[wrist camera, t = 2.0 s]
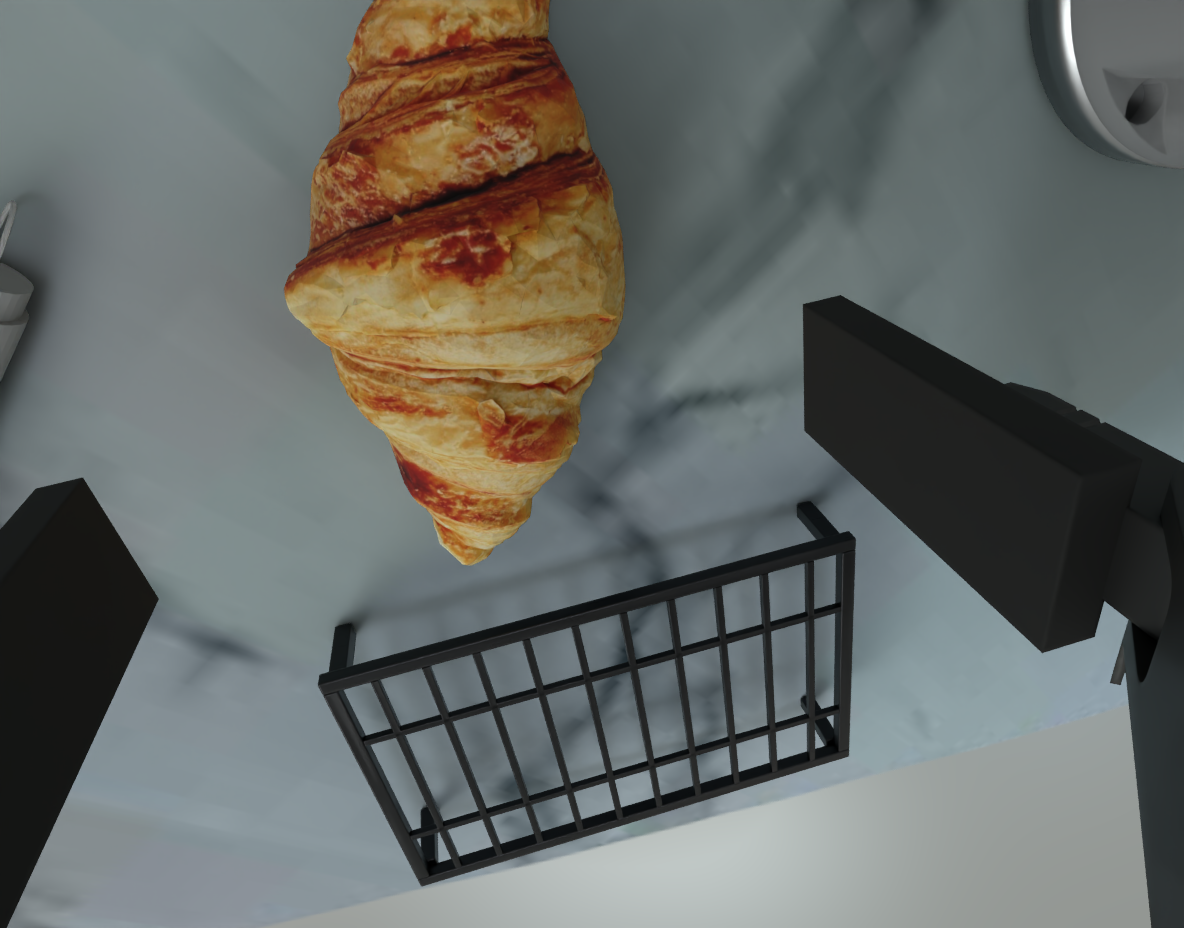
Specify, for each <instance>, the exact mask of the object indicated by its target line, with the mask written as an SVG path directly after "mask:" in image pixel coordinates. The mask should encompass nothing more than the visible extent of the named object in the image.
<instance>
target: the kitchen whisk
mask: <svg viewBox="0 0 1184 928" xmlns="http://www.w3.org/2000/svg"><path fill="white" fill-rule="evenodd" d="M16 206H17V204H16V202H15V201H13V200H11V201H9V202H8V203H7V205H6V206H5V208H4V210H3V211H2V213H1V215H0V229H1V227H2V225H3V222H4V221H5V219H6V217H7V215H8V213H9V215H8V219H7V222H6V225H5V229H4V232H3V234H2V237H1V240H0V259H1V256H2V254H3V251H4V248H5V245H6V243H7V240H8V237H9V234H10V231H11V228H12V225H13V221H14V218H15V214H16ZM33 289H34V287H33V285H32V283H31V282H30V281H29V280H28V279H27V278H26V277H25V276H24V275H22V274H21V273H19V272H18V271H16V270H14V269H13V268H11V267H9V266H7V265H5V264H3V263H1V262H0V382H1V380H2V377H3V375H4V373H5V371H6V369H7V366H8V364H9V362H10V360H11V358H12V355H13V353H14V351H15V349H16V347H17V344H18V342H19V340H20V338H21V336H22V333H23V331H24V329H25V327H26V325H27V322H28V320H29V315H28V312H27V311H26V309H25V308H26V305H27V303H28V301H29V299H30V296H31V294H32V292H33Z"/></svg>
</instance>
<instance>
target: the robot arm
mask: <svg viewBox="0 0 1184 928" xmlns="http://www.w3.org/2000/svg"><path fill="white" fill-rule="evenodd" d="M1029 21H1030V35H1031V41H1032V47H1033V53H1034V58H1035V62H1036V66H1037V70H1038V73H1039V77H1040V80H1041V82H1042V85H1043V87H1044V90H1045V93H1046V95H1047V97H1048V99H1049V101H1050V103H1051V105H1052V106H1053V108H1054V110H1055V112H1056V113H1057V115H1058V116H1059V117H1060V119H1061V120H1062V122H1063V123H1064V124H1065V126H1066V127H1067V128H1068V129H1069V130H1070V131H1071V132H1072V133H1073V134H1074V135H1075V136H1076V137H1077V138H1078V139H1080V140H1081V141H1082V142H1083V143H1085V144H1086V145H1087V146H1089V147H1090V148H1092V149H1094V150H1096V151H1098V152H1099V153H1101V154H1103V155H1106V156H1109V157H1111V158H1114V159H1117V160H1122V161H1126V162H1131V163H1138V164H1145V165H1152V166H1159V167H1166V168H1176V169H1184V0H1029ZM803 342H804V430H805V432H806V433H808V434H809V435H810V436H811V437H812V438H813V439H814V440H815V441H816V442H817V443H818V444H819V445H820V446H821V447H823V448H824V449H825V450H826V451H827V452H828V453H829V454H830V455H831V456H832V457H833V458H834V459H835V460H836V461H837V462H839V463H840V464H841V465H842V466H843V467H844V468H845V469H846V470H847V471H848V472H849V473H850V474H851V475H852V476H854V477H855V478H856V479H857V480H858V481H859V482H860V483H861V484H862V485H863V486H864V487H865V488H866V489H867V490H869V491H870V492H871V493H872V494H873V495H874V496H875V497H876V498H877V499H878V500H879V501H880V502H881V503H882V504H883V505H885V506H886V507H887V508H888V509H889V510H890V511H891V512H892V513H893V514H894V515H895V516H896V517H897V518H898V519H900V520H901V521H902V522H903V523H904V524H905V525H906V526H907V527H908V528H909V529H910V530H911V531H912V532H913V533H915V534H916V535H917V536H918V537H919V538H920V539H921V540H922V541H923V542H924V543H925V544H926V545H927V546H928V547H929V548H931V549H932V550H933V551H934V552H935V553H936V554H937V555H938V556H939V557H940V558H941V559H942V560H943V561H944V562H946V563H947V564H948V565H949V566H950V567H951V568H952V569H953V570H954V571H955V572H956V573H957V574H958V575H959V576H961V577H962V578H963V579H964V580H965V581H966V582H967V583H968V584H969V585H970V586H971V587H972V588H973V589H974V590H976V591H977V592H978V593H979V594H980V595H981V596H982V597H983V598H984V599H985V600H986V601H987V602H988V603H989V604H990V605H992V606H993V607H994V608H995V609H996V610H997V611H998V612H999V613H1000V614H1001V615H1002V616H1003V617H1004V618H1005V619H1007V620H1008V621H1009V622H1010V623H1011V624H1012V625H1013V626H1014V627H1015V628H1016V629H1017V630H1018V631H1019V632H1020V633H1022V634H1023V635H1024V636H1025V637H1026V638H1027V639H1028V640H1029V641H1030V642H1031V643H1032V644H1033V645H1034V646H1035V647H1036V648H1038V649H1039V650H1040V651H1041V652H1042V653H1044V652H1047V651H1050V650H1053V649H1057V648H1060V647H1063V646H1066V645H1070V644H1073V643H1076V642H1079V641H1083V640H1086V639H1089V638H1092V637H1095V633H1096V629H1097V626H1098V622H1099V618H1100V614H1101V611H1102V607H1103V603H1104V601H1105V602H1107V603H1108V604H1109V605H1110V606H1112V607H1113V608H1114V609H1116V610H1117V611H1118V612H1119V613H1121V614H1122V615H1123V616H1125V617H1126V618H1127V619H1129V620H1128V623H1127V627H1126V630H1125V633H1124V637H1123V640H1122V643H1121V647H1120V650H1119V653H1118V657H1117V660H1116V663H1115V667H1114V670H1113V674H1112V678H1111V681H1110V683H1113V684H1118V685H1121V682H1122V679H1123V676H1124V673H1126V680H1127V690H1128V700H1129V709H1130V720H1131V730H1132V740H1133V749H1134V760H1135V769H1136V779H1137V789H1138V799H1139V809H1140V819H1141V829H1142V838H1143V848H1144V857H1145V868H1146V878H1147V887H1148V898H1149V908H1150V917H1151V928H1184V463H1183V462H1181V461H1179V460H1177V459H1175V458H1173V457H1171V456H1169V455H1167V454H1166V453H1164V452H1162V451H1160V450H1158V449H1156V448H1154V447H1152V446H1150V445H1148V444H1146V443H1144V442H1142V441H1141V440H1139V439H1137V438H1135V437H1133V436H1131V435H1129V434H1127V433H1125V432H1123V431H1121V430H1119V429H1117V428H1115V427H1114V426H1112V425H1110V424H1108V423H1106V422H1105V423H1100V421H1099V419H1098V418H1096V417H1094V416H1092V415H1090V414H1089V413H1087V412H1085V411H1083V410H1079V411H1077V410H1076V407H1075V406H1073V405H1071V404H1069V403H1067V402H1065V401H1064V400H1062V399H1060V398H1058V397H1056V396H1054V395H1052V394H1050V393H1048V392H1045V391H1041V390H1038V389H1034V388H1030V387H1026V386H1023V385H1019V384H1015V383H1011V382H1010V383H1007V384H1003V383H1001V382H999V381H997V380H996V379H994V378H992V377H990V376H988V375H986V374H985V373H983V372H981V371H979V370H977V369H975V368H974V367H972V366H970V365H968V364H966V363H964V362H962V361H961V360H959V359H957V358H955V357H953V356H951V355H950V354H948V353H946V352H944V351H942V350H940V349H939V348H937V347H935V346H933V345H931V344H929V343H928V342H926V341H924V340H922V339H920V338H918V337H916V336H915V335H913V334H911V333H909V332H907V331H905V330H904V329H902V328H900V327H898V326H896V325H894V324H893V323H891V322H889V321H887V320H885V319H883V318H882V317H880V316H878V315H876V314H874V313H872V312H870V311H869V310H867V309H865V308H863V307H861V306H859V305H858V304H856V303H854V302H852V301H850V300H848V299H847V298H845V297H843V296H841V295H839V296H835V297H831V298H827V299H823V300H819V301H815V302H810V303H806V304H803ZM157 602H158V597H157V595H156V594H155V592H154V591H153V589H152V587H151V586H150V584H149V583H148V581H147V579H146V578H145V576H144V575H143V573H142V571H141V570H140V568H139V567H138V565H137V563H136V562H135V560H134V559H133V557H132V555H131V554H130V552H129V551H128V549H127V547H126V546H125V544H124V543H123V541H122V539H121V538H120V536H119V535H118V533H117V531H116V530H115V528H114V527H113V525H112V523H111V522H110V520H109V519H108V517H107V515H106V514H105V512H104V511H103V509H102V507H101V506H100V504H99V503H98V501H97V499H96V498H95V496H94V495H93V493H92V491H91V490H90V488H89V487H88V485H87V483H86V482H85V480H84V479H83V478H79V479H75V480H70V481H66V482H62V483H58V484H54V485H50V486H45V487H41V488H37V489H35V490H34V491H33V493H32V494H31V495H30V496H29V497H28V498H27V499H26V501H25V502H24V503H23V504H22V505H21V506H20V508H19V509H18V510H17V511H16V512H15V513H14V514H13V516H12V517H11V518H10V519H9V520H8V521H7V523H6V524H5V525H4V526H3V527H2V528H1V529H0V928H7V926H8V924H9V922H10V919H11V917H12V915H13V913H14V911H15V909H16V906H17V904H18V902H19V900H20V898H21V896H22V893H23V891H24V889H25V887H26V885H27V883H28V880H29V878H30V876H31V874H32V872H33V870H34V867H35V865H36V863H37V861H38V859H39V857H40V855H41V852H42V850H43V848H44V846H45V844H46V842H47V839H48V837H49V835H50V833H51V831H52V829H53V826H54V824H55V822H56V820H57V818H58V816H59V813H60V811H61V809H62V807H63V805H64V803H65V800H66V798H67V796H68V794H69V792H70V790H71V788H72V785H73V783H74V781H75V779H76V777H77V775H78V772H79V770H80V768H81V766H82V764H83V762H84V759H85V757H86V755H87V753H88V751H89V749H90V746H91V744H92V742H93V740H94V738H95V736H96V733H97V731H98V729H99V727H100V725H101V723H102V721H103V718H104V716H105V714H106V712H107V710H108V708H109V705H110V703H111V701H112V699H113V697H114V695H115V692H116V690H117V688H118V686H119V684H120V682H121V679H122V677H123V675H124V673H125V671H126V669H127V666H128V664H129V662H130V660H131V658H132V656H133V654H134V651H135V649H136V647H137V645H138V643H139V641H140V638H141V636H142V634H143V632H144V630H145V628H146V625H147V623H148V621H149V619H150V617H151V615H152V612H153V610H154V608H155V606H156V604H157Z"/></svg>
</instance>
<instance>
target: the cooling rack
mask: <svg viewBox="0 0 1184 928" xmlns="http://www.w3.org/2000/svg"><path fill="white" fill-rule="evenodd" d="M797 517H798V518H799V519H800V520H801V521H802V523H803V524H804V525H805V526H806V527H807V529H808V530H809V531H810V532H811V533H812V535H813V536H814V537H815V538H816V539H817V540H814V541H810V542H806V543H802V544H799V545H795V546H791V547H788V548H784V549H780V550H777V551H773V552H769V553H766V554H762V555H758V556H755V557H751V558H747V559H744V560H740V561H736V562H733V563H729V564H725V565H721V566H718V567H714V568H710V569H707V570H703V571H699V572H696V573H692V574H688V575H685V576H681V577H677V578H674V579H670V580H666V581H663V582H659V583H655V584H652V585H648V586H644V587H640V588H637V589H633V590H629V591H626V592H622V593H618V594H615V595H611V596H607V597H604V598H600V599H596V600H593V601H589V602H585V603H582V604H578V605H574V606H570V607H567V608H563V609H559V610H556V611H552V612H548V613H545V614H541V615H537V616H534V617H530V618H526V619H523V620H519V621H515V622H512V623H508V624H504V625H501V626H497V627H493V628H489V629H486V630H482V631H478V632H475V633H471V634H467V635H464V636H460V637H456V638H453V639H449V640H445V641H442V642H438V643H434V644H431V645H427V646H423V647H419V648H416V649H412V650H408V651H405V652H401V653H397V654H394V655H390V656H386V657H383V658H379V659H375V660H372V661H368V662H364V663H361V664H357V665H353V660H354V651H355V641H356V633H355V630H354V628H353V626H352V624H351V623H349V624H345V625H341V626H338V627H335V632H334V639H333V646H332V653H331V660H330V667H329V672H327V673H324V674H321V675H319V681H318V687H319V688H320V690H321V692H322V694H323V695H324V698H325V700H326V702H327V704H328V706H329V708H330V710H331V712H332V714H333V716H334V718H335V720H336V722H337V724H338V725H339V727H340V729H341V731H342V733H343V735H344V737H345V739H346V741H347V743H348V745H349V747H350V749H351V751H352V753H353V755H354V757H355V759H356V760H357V762H358V764H359V766H360V768H361V770H362V772H363V774H364V776H365V778H366V780H367V782H368V784H369V786H370V788H371V790H372V792H373V794H374V795H375V797H376V799H377V801H378V803H379V805H380V807H381V809H382V811H383V813H384V815H385V817H386V819H387V821H388V823H389V825H390V827H391V829H392V830H393V832H394V834H395V836H396V838H397V840H398V842H399V844H400V846H401V848H402V850H403V852H404V854H405V856H406V858H407V860H408V862H409V864H410V865H411V867H412V869H413V871H414V873H415V875H416V877H417V879H418V881H419V883H420V885H421V886H425V885H428V884H432V883H435V882H438V881H441V880H445V879H448V878H451V877H455V876H458V875H461V874H464V873H468V872H471V871H474V870H478V869H481V868H484V867H487V866H491V865H494V864H497V863H501V862H504V861H507V860H510V859H514V858H517V857H520V856H524V855H527V854H530V853H533V852H537V851H540V850H543V849H546V848H550V847H553V846H556V845H560V844H563V843H566V842H569V841H573V840H576V839H579V838H583V837H586V836H589V835H592V834H596V833H599V832H602V831H606V830H609V829H612V828H615V827H619V826H622V825H625V824H629V823H632V822H635V821H638V820H642V819H645V818H648V817H652V816H655V815H658V814H661V813H665V812H668V811H671V810H674V809H678V808H681V807H684V806H688V805H691V804H694V803H697V802H701V801H704V800H707V799H711V798H714V797H717V796H720V795H724V794H727V793H730V792H734V791H737V790H740V789H743V788H747V787H750V786H753V785H757V784H760V783H763V782H766V781H770V780H773V779H776V778H780V777H783V776H786V775H789V774H793V773H796V772H799V771H802V770H806V769H809V768H812V767H816V766H819V765H822V764H825V763H829V762H832V761H835V760H839V759H842V758H845V757H848V756H849V736H850V705H851V673H852V642H853V610H854V579H855V547H856V538H855V537H854V536H853V535H852V534H851V533H850V532H849V531H847V532H843V533H839V532H838V531H837V530H836V529H835V527H834V526H833V525H832V524H831V523H830V522H829V521H828V520H827V519H826V517H825V516H824V515H823V514H822V513H821V512H820V511H819V510H818V509H817V507H816V506H815V505H814V504H813V503H812V502H811V501H809V502H805V503H801V504H798V505H797ZM832 555H836V594H835V604H832V605H828V606H825V607H821V608H817V609H814V560H818V559H821V558H825V557H829V556H832ZM803 563H805V612H803V613H800V614H796V615H793V616H789V617H785V618H782V619H778V620H775V621H771V622H770V602H769V582H768V573H770V572H774V571H778V570H781V569H785V568H789V567H792V566H796V565H799V564H803ZM756 576H759V582H760V599H761V617H762V624H761V625H757V626H754V627H750V628H746V629H743V630H739V631H736V632H732V633H729V634H726V628H725V617H724V606H723V595H722V586H723V585H727V584H730V583H734V582H738V581H741V580H745V579H748V578H752V577H756ZM712 588H713V592H714V602H715V612H716V622H717V632H718V637H714V638H711V639H707V640H704V641H700V642H697V643H693V644H690V645H686V646H682V647H681V642H680V634H679V627H678V620H677V612H676V605H675V599H676V598H679V597H683V596H687V595H690V594H694V593H697V592H701V591H705V590H708V589H712ZM665 601H666V602H667V608H668V615H669V622H670V629H671V636H672V643H673V649H672V650H668V651H665V652H661V653H658V654H654V655H651V656H647V657H643V658H640V659H636V658H635V653H634V648H633V642H632V637H631V631H630V626H629V620H628V615H627V612H628V611H632V610H636V609H639V608H643V607H646V606H650V605H654V604H657V603H661V602H665ZM834 613H835V664H834V706H831V707H827V708H824V709H821V708H820V706H819V705H818V703H817V701H816V700H815V659H814V619H817V618H820V617H824V616H827V615H831V614H834ZM617 614H619V616H620V621H621V626H622V632H623V637H624V642H625V647H626V653H627V658H628V662H626V663H622V664H619V665H615V666H611V667H608V668H604V669H601V670H597V671H594V672H589V668H588V663H587V659H586V655H585V650H584V646H583V642H582V638H581V633H580V629H579V625H581V624H585V623H588V622H592V621H595V620H599V619H603V618H606V617H610V616H614V615H617ZM802 622H805V629H806V697H803V698H801V707H802V708H803V710H804V712H805V713H806V714H804V715H800V716H797V717H793V718H790V719H787V720H783V721H780V722H777V723H775V707H774V686H773V665H772V644H771V631H774V630H778V629H781V628H785V627H788V626H792V625H795V624H799V623H802ZM570 627H571V629H572V633H573V637H574V641H575V645H576V649H577V654H578V658H579V662H580V666H581V670H582V674H583V675H580V676H576V677H572V678H569V679H565V680H562V681H558V682H555V683H551V684H548V685H544V686H543V683H542V679H541V676H540V672H539V669H538V665H537V662H536V658H535V655H534V651H533V648H532V644H531V641H530V638H534V637H537V636H541V635H544V634H548V633H552V632H555V631H559V630H563V629H566V628H570ZM760 634H762V635H763V653H764V671H765V689H766V706H767V724H768V725H766V726H763V727H760V728H756V729H753V730H750V731H746V732H743V733H740V734H736V735H735V726H734V715H733V704H732V693H731V682H730V671H729V660H728V649H727V644H728V643H732V642H735V641H739V640H742V639H746V638H749V637H753V636H757V635H760ZM519 641H522V642H523V645H524V649H525V652H526V655H527V659H528V662H529V666H530V669H531V673H532V676H533V679H534V683H535V686H536V688H533V689H530V690H526V691H523V692H519V693H516V694H512V695H509V696H505V697H501V698H498V699H496V696H495V693H494V690H493V687H492V684H491V681H490V678H489V675H488V672H487V669H486V666H485V663H484V660H483V657H482V654H481V652H483V651H486V650H490V649H493V648H497V647H501V646H504V645H508V644H512V643H515V642H519ZM718 646H719V652H720V662H721V672H722V683H723V693H724V703H725V713H726V723H727V733H728V737H726V738H723V739H719V740H716V741H713V742H709V743H706V744H702V745H699V746H696V747H695V744H694V737H693V729H692V722H691V715H690V707H689V700H688V693H687V686H686V678H685V671H684V664H683V656H686V655H689V654H693V653H697V652H700V651H704V650H707V649H711V648H714V647H718ZM472 654H473V658H474V661H475V663H476V666H477V669H478V672H479V675H480V678H481V681H482V684H483V687H484V689H485V692H486V695H487V698H488V701H487V702H484V703H480V704H477V705H473V706H469V707H466V708H462V709H459V710H455V711H452V712H449V711H448V708H447V706H446V703H445V701H444V698H443V696H442V693H441V690H440V688H439V685H438V683H437V680H436V678H435V675H434V673H433V670H432V667H431V666H432V665H435V664H439V663H442V662H446V661H450V660H453V659H457V658H461V657H464V656H468V655H472ZM672 659H675V664H676V671H677V677H678V684H679V691H680V698H681V705H682V712H683V719H684V726H685V733H686V740H687V747H688V749H686V750H682V751H679V752H675V753H672V754H669V755H665V756H662V757H659V758H655V759H654V756H653V751H652V745H651V740H650V735H649V729H648V724H647V718H646V713H645V707H644V702H643V696H642V691H641V686H640V680H639V675H638V669H640V668H644V667H647V666H651V665H654V664H658V663H661V662H665V661H668V660H672ZM421 668H422V670H423V672H424V675H425V677H426V680H427V682H428V685H429V687H430V690H431V692H432V695H433V697H434V700H435V702H436V705H437V707H438V710H439V712H440V715H438V716H434V717H430V718H427V719H423V720H420V721H416V722H413V723H409V724H406V725H402V726H401V725H400V723H399V720H398V718H397V716H396V714H395V711H394V709H393V707H392V705H391V702H390V700H389V698H388V696H387V693H386V691H385V689H384V687H383V685H382V682H381V680H380V679H384V678H388V677H391V676H395V675H399V674H402V673H406V672H410V671H413V670H417V669H421ZM629 671H630V673H631V679H632V684H633V689H634V694H635V699H636V705H637V710H638V715H639V720H640V726H641V731H642V736H643V741H644V746H645V752H646V757H647V761H645V762H642V763H638V764H635V765H632V766H628V767H625V768H621V769H618V770H615V771H612V766H611V762H610V758H609V754H608V749H607V745H606V741H605V736H604V732H603V728H602V723H601V719H600V715H599V711H598V706H597V702H596V698H595V693H594V689H593V685H592V682H594V681H598V680H601V679H605V678H608V677H612V676H615V675H619V674H622V673H626V672H629ZM370 682H371V684H372V686H373V688H374V691H375V693H376V695H377V697H378V699H379V702H380V704H381V706H382V708H383V710H384V712H385V715H386V717H387V719H388V721H389V723H390V726H391V729H388V730H384V731H381V732H377V733H374V734H370V735H367V736H366V735H365V733H364V731H363V729H362V727H361V725H360V723H359V721H358V719H357V717H356V715H355V713H354V711H353V709H352V706H351V704H350V702H349V700H348V698H347V696H346V694H345V692H344V689H348V688H351V687H355V686H359V685H362V684H366V683H370ZM583 684H585V687H586V691H587V695H588V699H589V703H590V708H591V712H592V716H593V720H594V724H595V728H596V733H597V737H598V741H599V745H600V749H601V753H602V757H603V762H604V766H605V770H606V773H605V774H601V775H598V776H595V777H591V778H588V779H584V780H581V781H578V782H574V783H571V782H570V778H569V775H568V771H567V768H566V764H565V761H564V757H563V754H562V750H561V746H560V743H559V739H558V736H557V732H556V729H555V725H554V722H553V718H552V715H551V711H550V708H549V704H548V701H547V697H546V695H548V694H552V693H555V692H559V691H562V690H566V689H569V688H573V687H576V686H580V685H583ZM538 697H539V700H540V703H541V707H542V710H543V714H544V717H545V721H546V724H547V727H548V731H549V734H550V738H551V741H552V745H553V748H554V751H555V755H556V758H557V762H558V765H559V769H560V772H561V775H562V779H563V782H564V786H561V787H557V788H554V789H551V790H547V791H544V792H541V793H537V794H534V795H530V796H529V794H528V791H527V788H526V785H525V782H524V779H523V776H522V773H521V770H520V767H519V764H518V762H517V759H516V756H515V753H514V750H513V747H512V744H511V741H510V738H509V735H508V732H507V729H506V726H505V723H504V720H503V717H502V714H501V711H500V708H502V707H506V706H509V705H513V704H516V703H520V702H523V701H527V700H530V699H534V698H538ZM488 711H492V713H493V716H494V718H495V721H496V724H497V727H498V730H499V733H500V736H501V739H502V742H503V745H504V747H505V750H506V753H507V756H508V759H509V762H510V765H511V768H512V771H513V774H514V776H515V779H516V782H517V785H518V788H519V791H520V794H521V797H522V798H520V799H517V800H514V801H510V802H507V803H503V804H500V805H497V806H493V807H490V808H486V806H485V803H484V800H483V798H482V795H481V793H480V790H479V788H478V785H477V783H476V780H475V777H474V775H473V772H472V770H471V767H470V765H469V762H468V760H467V757H466V754H465V752H464V749H463V747H462V744H461V742H460V739H459V736H458V734H457V731H456V729H455V726H454V724H453V721H456V720H460V719H463V718H467V717H470V716H474V715H477V714H481V713H485V712H488ZM831 715H834V729H833V727H832V725H831V724H830V722H829V721H828V719H827V717H828V716H831ZM804 723H807V752H804V753H800V754H797V755H794V756H790V757H787V758H784V759H780V760H777V749H776V732H777V731H781V730H784V729H787V728H791V727H794V726H797V725H801V724H804ZM442 724H444V725H445V727H446V730H447V732H448V735H449V737H450V740H451V742H452V745H453V747H454V750H455V752H456V755H457V757H458V760H459V762H460V765H461V767H462V770H463V772H464V775H465V777H466V780H467V782H468V785H469V787H470V790H471V792H472V795H473V797H474V800H475V802H476V805H477V807H478V810H479V811H477V812H473V813H470V814H466V815H463V816H460V817H456V818H453V819H450V820H446V821H443V819H442V816H441V814H440V812H439V810H438V807H437V805H436V803H435V801H434V798H433V796H432V794H431V792H430V790H429V787H428V785H427V783H426V781H425V778H424V776H423V774H422V772H421V769H420V767H419V765H418V763H417V760H416V758H415V756H414V754H413V752H412V749H411V747H410V745H409V743H408V740H407V738H406V736H405V735H407V734H410V733H414V732H417V731H421V730H424V729H428V728H432V727H435V726H439V725H442ZM815 730H816V732H817V734H818V735H819V737H820V739H821V740H822V742H823V744H824V745H825V746H823V747H820V748H817V749H815ZM767 734H768V742H769V760H770V763H767V764H764V765H761V766H757V767H754V768H751V769H747V770H744V771H741V772H739V770H738V759H737V748H736V744H737V743H740V742H744V741H747V740H750V739H754V738H757V737H761V736H764V735H767ZM393 738H396V739H397V741H398V743H399V745H400V747H401V750H402V752H403V754H404V756H405V758H406V760H407V763H408V765H409V767H410V769H411V771H412V774H413V776H414V778H415V780H416V782H417V784H418V787H419V789H420V791H421V793H422V795H423V797H424V800H425V802H426V804H427V806H428V808H425V809H422V810H421V828H419V829H416V830H412V829H411V827H410V825H409V823H408V821H407V819H406V817H405V815H404V813H403V810H402V808H401V806H400V804H399V802H398V800H397V798H396V796H395V794H394V792H393V790H392V788H391V786H390V784H389V782H388V780H387V778H386V776H385V774H384V772H383V770H382V768H381V766H380V764H379V762H378V760H377V757H376V755H375V753H374V751H373V749H372V747H371V745H372V744H375V743H379V742H382V741H386V740H389V739H393ZM727 746H729V753H730V763H731V773H732V774H731V775H728V776H724V777H721V778H718V779H714V780H711V781H708V782H704V783H701V784H700V781H699V773H698V766H697V759H696V756H697V755H700V754H703V753H707V752H710V751H714V750H717V749H720V748H724V747H727ZM687 758H689V760H690V767H691V774H692V781H693V786H691V787H688V788H684V789H681V790H678V791H675V792H671V793H668V794H665V795H661V794H660V789H659V783H658V778H657V773H656V767H660V766H663V765H667V764H670V763H673V762H677V761H680V760H683V759H687ZM646 770H649V772H650V778H651V783H652V788H653V793H654V798H651V799H648V800H645V801H641V802H638V803H635V804H632V805H628V806H625V807H622V808H621V805H620V801H619V796H618V792H617V788H616V784H615V780H616V779H620V778H623V777H626V776H630V775H633V774H636V773H640V772H643V771H646ZM606 782H609V787H610V791H611V795H612V799H613V803H614V807H615V810H612V811H608V812H605V813H602V814H598V815H595V816H592V817H588V818H585V819H582V820H581V817H580V813H579V810H578V806H577V803H576V799H575V796H574V792H576V791H579V790H583V789H586V788H589V787H593V786H596V785H599V784H603V783H606ZM566 794H567V796H568V799H569V803H570V806H571V810H572V813H573V817H574V820H575V822H572V823H569V824H565V825H562V826H559V827H555V828H552V829H549V830H545V831H542V832H541V830H540V827H539V824H538V821H537V818H536V815H535V812H534V809H533V806H532V804H536V803H539V802H542V801H546V800H549V799H552V798H556V797H559V796H562V795H566ZM522 807H525V808H526V811H527V814H528V817H529V820H530V823H531V826H532V829H533V831H534V834H532V835H529V836H526V837H522V838H519V839H516V840H512V841H509V842H506V843H502V844H500V841H499V839H498V836H497V834H496V831H495V829H494V826H493V824H492V821H491V818H490V817H492V816H495V815H499V814H502V813H505V812H509V811H512V810H515V809H519V808H522ZM479 820H483V822H484V825H485V827H486V830H487V832H488V835H489V837H490V839H491V842H492V844H493V846H492V847H489V848H486V849H483V850H479V851H476V852H473V853H469V854H466V855H463V856H459V854H458V852H457V850H456V848H455V845H454V843H453V841H452V839H451V836H450V834H449V832H448V829H452V828H455V827H458V826H462V825H465V824H468V823H472V822H475V821H479ZM438 832H440V835H441V837H442V839H443V841H444V843H445V845H446V848H447V850H448V852H449V854H450V856H451V859H449V860H446V861H443V862H440V863H438ZM418 838H421V847H420V845H419V843H418V841H417V839H418Z"/></svg>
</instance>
